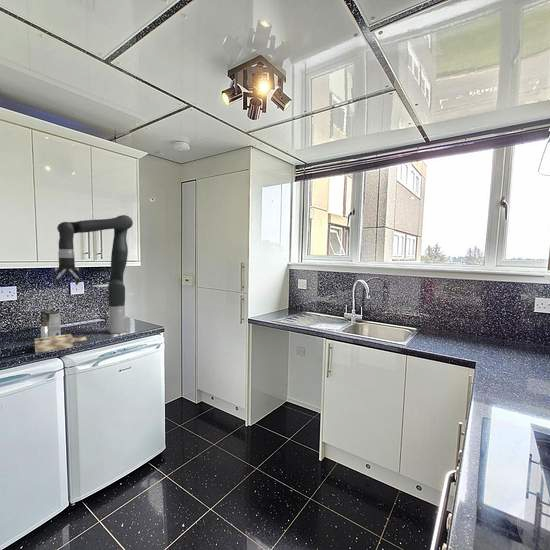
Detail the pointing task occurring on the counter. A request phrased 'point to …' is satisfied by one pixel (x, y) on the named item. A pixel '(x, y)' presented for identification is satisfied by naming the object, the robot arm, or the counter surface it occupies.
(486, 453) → the counter surface
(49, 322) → the coffee box
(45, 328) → the peg
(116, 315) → the robot arm
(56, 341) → the hole block
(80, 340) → the mat
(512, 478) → the counter surface
